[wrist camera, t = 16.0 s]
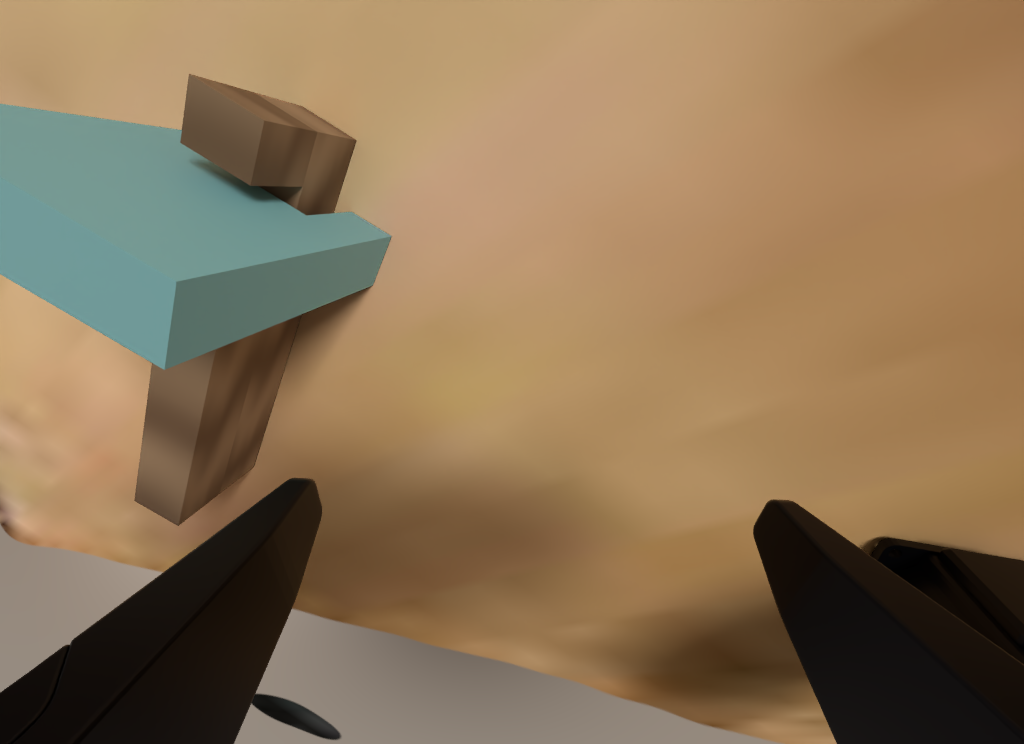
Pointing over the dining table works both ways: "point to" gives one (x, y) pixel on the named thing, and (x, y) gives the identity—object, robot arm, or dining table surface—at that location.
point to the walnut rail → (258, 357)
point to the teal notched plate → (162, 237)
